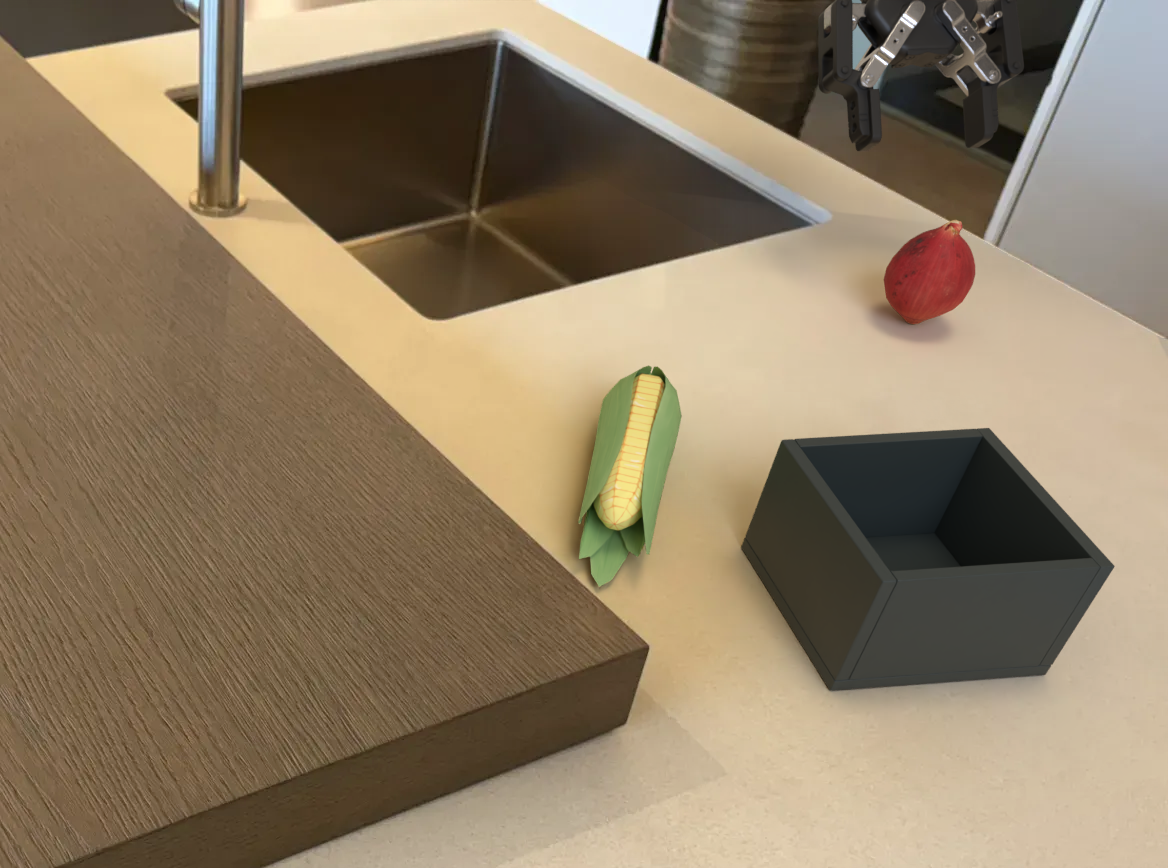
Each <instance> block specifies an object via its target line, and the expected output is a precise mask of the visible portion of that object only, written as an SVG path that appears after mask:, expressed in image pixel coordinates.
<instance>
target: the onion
mask: <svg viewBox="0 0 1168 868" xmlns="http://www.w3.org/2000/svg"><path fill="white" fill-rule="evenodd" d="M962 230H963V223H962V221H960V220H957V219H952V220H950V221H947V222H946V223H943V224H942V225H941V226H939V227H936V228H932V229H928V230H925V231H923V232H921V233H918V234H917V235H915V236H913V237H912V238H910V239H909V240H907V241H906V243H904V244H903V245H902V246H901V247H900V249H899V250H898V251H897V252H895V255H893V257H891V259H890V261H889V263H888V264H887V266H886V269H885V272H884V277H883V284H884V292H885V298H886V300H887V302H888V303H889V305H890V306H891V307H892V309H894V311H895V312H896V313H898V314H899V316H900V317H901V318H902V319H903V320H904V321H905V322H906V323H907V324H910V325H918V324H921V323H923V322H925V321H928V320H930V319H934V318H937V317H940V316H943V315H945V314H947V313H950V312H952V311H953V310H954V309H956V308H957V307H958V306H960V305H961V304H962V303H963V302H964V301H965V299H966V297H967V296H968V294H969V292H970V291H971V290H972V287H973V285H974V282H975V277H976V262H975V258H974V254H973V252H972V249H971V247H970V245H969V244H968V242H967V241H966V240H965V239H964V238H963V236H962V235H961V234H960V233H961V231H962Z"/></svg>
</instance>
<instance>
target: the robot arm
mask: <svg viewBox="0 0 1168 868" xmlns="http://www.w3.org/2000/svg"><path fill="white" fill-rule="evenodd" d="M859 1H860V2H853V0H834V1H833V2H831V4H830V5H828V7H827V8H825V9H824V10H823V11H822V12H821V13H820V14H819V16H818V19H817V22H818V23H817V24H818V27H817V28H818V29H817V30H818V31H817V35H818V36H817V37H818V40H817V42H818V43H817V45H818V50H817V51H818V56H817V57H818V59H817V60H818V90H819V91H820V92H821V93H823V94H825V95H827V94H831V93H835V94H838V95H840V96H842V98H843V99H844V100H845V101H846V108H847V110H846V111H847V122H848V124H847V126H848V138H849V140H850V142H851V144H854V146H855V150H856V151H857V152H869V151H870V150H871V149H873V148H874V147H876V146H877V145H879V144H880V143H881V141H882V138H883V129H882V128H883V127H882V113H881V96H880V95H881V94H880V88H874V86H876V84H877V83H878V81H879V79H880V78H881V76H882V75H883V73H884V72H885V70H886V68H887V67H888V66H889V65H890V66H891V69H902V68H905V67H908V66H916V67H919V68H932V67H934V66H936V68H937V69H938V70H939V72H940V73H941V74H942V75H943V76H944V77H946V78H951V79H952V80H953V81H954V82H955V83H956V85H957V86H958V87H959V89H960V90H961V91H962V92H963V93H964V95H965V96H966V97H964V98H963V99H962V111H963V129H964V130H963V131H964V143H965V144H964V145H965V147H966V148H967V149H975V148H976V149H977V148H980V147H982V146H983V145H985V144H986V143H988V142H989V141H991V140H992V139H993V137H994V133H996V132H997V131H998V128H999V124H1000V121H999V105H998V89H999V88H1000V87H1002V86H1004V84H1005V83H1007V82H1009V81H1010V80H1012V79H1013V78H1015V77H1017V76H1019V75H1020V74H1021V73H1022V72H1023V71H1024V69H1025V62H1024V54H1023V45H1022V35H1021V28H1020V27H1021V26H1020V18H1019V9H1018V0H859ZM972 22H974V23H975V25H976V27H974V25H972ZM857 27H858V28H859V30H860V31H861V33H862V34H863V35H864V36H865V38H866V39H867V40H868V42H869V43H870V44H869V46H868V47H867V49H866V51H865V52H864V54H863V55H862V57H861V59H860V60H859V61H858V63H857V64H856V66H855V68H854V60H853V59H854V54H853V53H854V47H853V46H854V40H853V39H854V37H853V36H854V35H853V33H854V32H853V31H855V30H856V28H857ZM958 46H960V48H961V49H962V53H961V54H960V55H955V53H953V52H954V51H955V50H956V49H957V47H958Z"/></svg>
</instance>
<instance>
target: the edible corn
mask: <svg viewBox="0 0 1168 868" xmlns="http://www.w3.org/2000/svg"><path fill="white" fill-rule="evenodd" d="M682 417H683V416H682V410H681V405H680V400H679V395H678V391H677V389H676V387H674V385H673V384H672V383H671V381H670V379H669V378H668V377H667V375H666V374H665V372H664V371H663V370H662V369H661V368H660V367H659V366H653V367H652V366H651V365H646V366H642V367H641V368H639V369H638V370H635V371H634V372H632V373H630V374H629V375H626V376H625V377H622V378H620V379H619V380H618V381H617V382H616V384H615V385H614V386H613V387H611V389H610V390H609V391H608V393H606V395H605V396H604V398H603V399H602V403H601V407H600V412H599V415H598V421H597V422H598V423H597V429H596V434H595V440H594V441H595V442H594V447H593V450H592V451H593V452H592V457H591V462H590V466H589V471H588V477H587V481H586V486H585V490H584V495H583V498H582V504H581V509H580V513H579V517H578V521H577V523H578V524H579V525H582V520H583V517H584V516H585V518H584V523H583V528H582V533H581V538H580V544H579V553H578V559H579V560H581V559H586V558H589V561H590V575H591V576H592V578H593V579H594V581H595V583H596V584H597V586H598V587H602V586H604V585H605V584H607V583H610V582H611V581H613V578H614V577H615V576H616V575H617V573H618V572H619V570H620V568H621V567H622V565H623V564H624V563H625V561H626V559H627V557H628V555H629V553H630V554H632V555H634V556H635V557H637V558H639V557H640V555H641V552H642V551H643V549H644V546H645V552H646V553H645V554H646V555H650V554H651V549H652V544H653V539H654V533H655V529H656V524H657V518H658V512H659V508H660V504H661V500H662V496H663V491H664V487H665V483H666V478H667V474H668V472H669V469H670V468H669V467H670V465H671V460H672V459H673V454H674V451H675V449H676V448H675V447H676V443H677V439H678V435H679V432H680V427H681V421H682Z"/></svg>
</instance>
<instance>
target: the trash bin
mask: <svg viewBox="0 0 1168 868" xmlns="http://www.w3.org/2000/svg"><path fill="white" fill-rule="evenodd" d="M740 547H741V550H742V551H743V553H744V554H745V556H746V557H747V559H748V561H749V562H750V564H751V566H752V568H753V569H754V570H755V572H756V574H757V575H758V577H759V579H760V580H761V583H762V584H763V585H764V587H765V588H766V590H767V592H768V594H769V595H770V597H771V598H772V599H773V601H774V603H775V605H776V606H777V608H778V609H779V611H780V613H781V614H782V616H783V618H784V619H785V620H786V622H787V624H788V626H789V627H790V629H791V630H792V632H793V633H794V635H795V637H796V638H797V640H798V642H799V643H800V645H801V647H802V648H803V650H804V651H805V653H806V654H807V656H808V658H809V659H810V661H811V662H812V664H813V665H814V667H815V669H816V671H817V673H818V674H819V676H820V677H821V679H822V681H823V682H824V684H825V685H826V687H827V689H828V690H829V691H830V692H835V691H836V692H837V691H848V690H849V691H850V690H851V691H852V690H863V689H877V688H889V687H890V688H891V687H903V686H916V685H929V684H943V683H956V682H957V683H958V682H969V681H984V680H985V681H986V680H998V679H999V680H1000V679H1009V678H1010V679H1011V678H1023V677H1025V678H1026V677H1036V676H1046V675H1047V673H1048V672H1049V670H1050V668H1051V667H1052V665H1053V664H1054V663H1055V661H1056V659H1057V658H1058V657H1059V655H1060V653H1061V652H1062V650H1063V649H1064V647H1065V646H1066V644H1067V642H1068V641H1069V640H1070V638H1071V636H1072V634H1073V633H1074V632H1075V630H1076V629H1077V626H1078V625H1079V623H1080V622H1081V621H1082V619H1083V617H1084V616H1085V614H1086V613H1087V611H1088V610H1089V608H1090V606H1091V605H1092V603H1093V602H1094V600H1095V598H1096V597H1097V596H1098V594H1099V592H1100V590H1101V589H1102V587H1103V586H1104V584H1105V582H1106V581H1107V580H1108V578H1109V576H1110V575H1111V574H1112V572H1113V570H1114V569H1115V567H1116V566H1115V564H1114V563H1113V562H1112V561H1111V560H1110V559H1109V558H1108V557H1107V556H1106V555H1105V554H1104V552H1103V551H1102V550H1101V549H1100V548H1099V547H1098V546H1097V545H1096V544H1095V542H1094V541H1092V539H1091V538H1090V537H1089V536H1088V535H1087V533H1086V532H1085V531H1084V530H1083V529H1082V528H1081V527H1080V526H1079V525H1078V524H1077V523H1076V522H1075V521H1074V520H1073V519H1072V517H1071V516H1070V515H1069V514H1068V513H1067V512H1066V510H1065V509H1063V507H1062V506H1061V505H1060V503H1058V502H1057V500H1056V499H1055V498H1054V497H1053V496H1052V495H1051V494H1050V493H1049V492H1048V491H1047V490H1046V489H1045V487H1043V485H1042V484H1041V483H1040V482H1039V481H1038V480H1037V479H1036V478H1035V477H1034V476H1033V474H1032V473H1031V472H1030V471H1029V469H1027V467H1026V466H1024V464H1023V463H1022V462H1021V461H1020V460H1019V459H1018V458H1017V456H1016V455H1015V454H1014V453H1013V452H1012V451H1011V450H1010V449H1009V448H1008V447H1007V446H1006V444H1005V443H1004V442H1003V441H1002V440H1001V439H1000V438H999V437H998V436H997V435H996V434H995V433H994V431H992V429H991V428H990V427H981V428H980V427H979V428H964V429H962V428H961V429H945V430H943V429H942V430H927V431H926V430H925V431H924V430H923V431H910V432H909V431H908V432H907V431H905V432H892V433H891V432H889V433H873V434H872V433H871V434H857V435H856V434H853V435H842V436H841V435H839V436H838V435H837V436H822V437H821V436H820V437H819V436H818V437H817V436H816V437H804V438H803V437H802V438H794V439H793V438H789V439H781V440H780V443H779V446H778V449H777V451H776V454H775V456H774V459H773V462H772V464H771V467H770V469H769V472H768V475H767V477H766V480H765V483H764V486H763V488H762V490H761V493H760V496H759V499H758V501H757V504H756V507H755V509H754V512H753V514H752V518H751V520H750V522H749V525H748V528H747V531H746V533H745V537H744V538H743V541H742V543H741V546H740Z"/></svg>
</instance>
